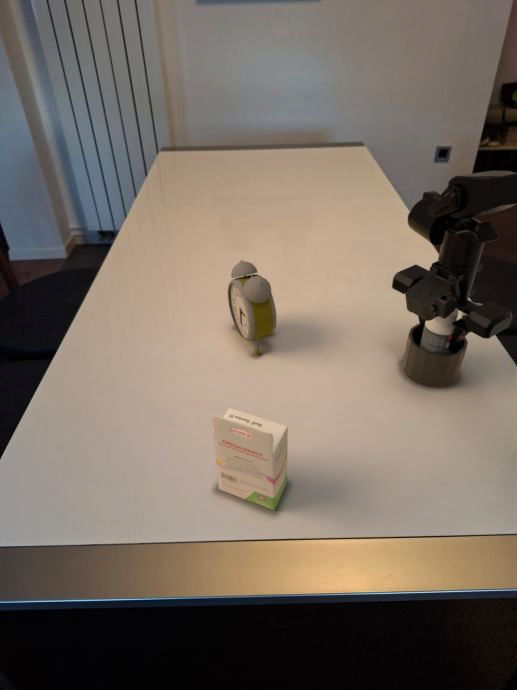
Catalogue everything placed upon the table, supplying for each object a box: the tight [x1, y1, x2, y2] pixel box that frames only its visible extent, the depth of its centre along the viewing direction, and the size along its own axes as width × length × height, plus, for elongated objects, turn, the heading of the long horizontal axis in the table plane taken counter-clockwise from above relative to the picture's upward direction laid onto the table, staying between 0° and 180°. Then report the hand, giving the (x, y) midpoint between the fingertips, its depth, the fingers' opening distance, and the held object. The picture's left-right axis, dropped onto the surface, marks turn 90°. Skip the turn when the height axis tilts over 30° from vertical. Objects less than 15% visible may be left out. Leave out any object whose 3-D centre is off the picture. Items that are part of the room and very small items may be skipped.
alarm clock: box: [227, 259, 277, 355], centre depth 91 cm, size 12×7×15 cm, turn 23°
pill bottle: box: [419, 310, 459, 354], centre depth 82 cm, size 5×5×9 cm
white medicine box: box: [212, 407, 289, 511], centre depth 64 cm, size 9×5×15 cm, turn 65°
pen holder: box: [401, 323, 469, 389], centre depth 85 cm, size 9×9×7 cm
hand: (437, 341), depth 83 cm, fingers closed on pill bottle, 5 cm apart
